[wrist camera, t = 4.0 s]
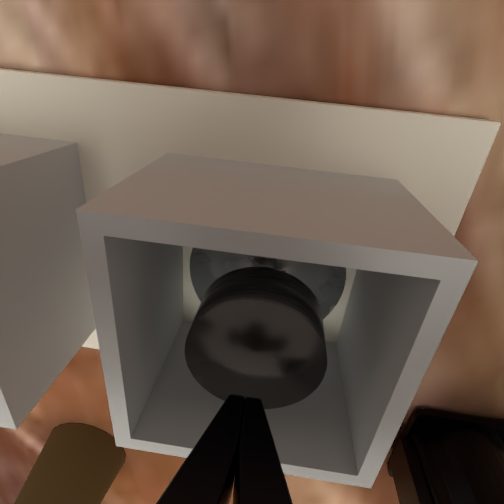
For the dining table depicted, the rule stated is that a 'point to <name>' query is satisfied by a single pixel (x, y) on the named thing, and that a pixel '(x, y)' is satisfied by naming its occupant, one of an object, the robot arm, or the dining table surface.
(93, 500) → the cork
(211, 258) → the plunger
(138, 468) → the dining table surface
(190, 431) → the board
